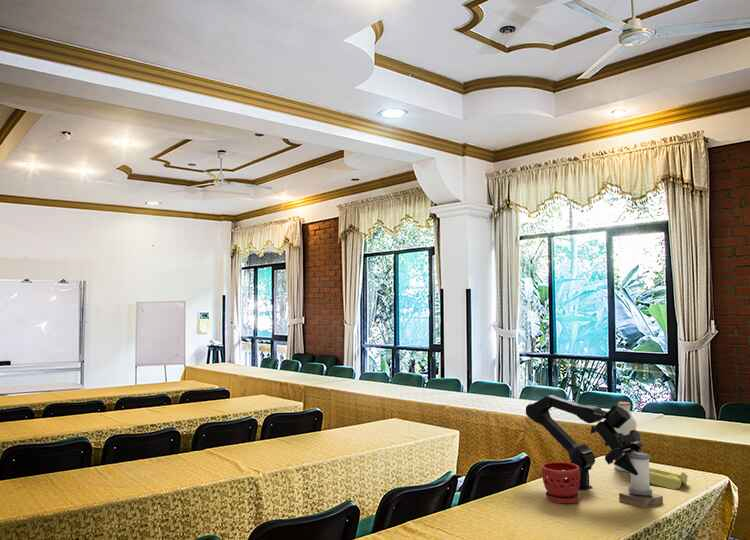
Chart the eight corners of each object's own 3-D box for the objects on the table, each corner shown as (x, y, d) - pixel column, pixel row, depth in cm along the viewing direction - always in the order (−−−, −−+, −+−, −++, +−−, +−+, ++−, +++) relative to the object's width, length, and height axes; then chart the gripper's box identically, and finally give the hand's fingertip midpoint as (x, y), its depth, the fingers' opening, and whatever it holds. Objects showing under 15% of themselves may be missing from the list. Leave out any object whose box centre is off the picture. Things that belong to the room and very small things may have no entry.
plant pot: (564, 492, 217) (563, 459, 218) (589, 503, 204) (588, 468, 205) (534, 496, 212) (534, 462, 213) (557, 507, 200) (557, 471, 201)
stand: (644, 508, 199) (644, 500, 199) (619, 500, 208) (619, 493, 208) (662, 503, 204) (662, 496, 204) (637, 495, 213) (637, 488, 213)
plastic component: (689, 477, 228) (682, 471, 221) (686, 496, 225) (679, 490, 219) (636, 465, 241) (628, 458, 235) (632, 482, 239) (625, 476, 232)
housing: (635, 495, 202) (634, 457, 203) (624, 489, 210) (623, 452, 210) (656, 495, 203) (655, 456, 204) (644, 488, 210) (643, 451, 211)
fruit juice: (615, 465, 255) (613, 400, 257) (639, 468, 250) (636, 401, 253) (613, 470, 246) (611, 403, 248) (638, 473, 242) (635, 404, 244)
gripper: (612, 426, 205) (644, 464, 196) (637, 419, 217) (669, 455, 208) (592, 444, 211) (622, 483, 202) (617, 437, 223) (647, 473, 214)
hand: (641, 473), depth 206 cm, fingers closed on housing, 6 cm apart
